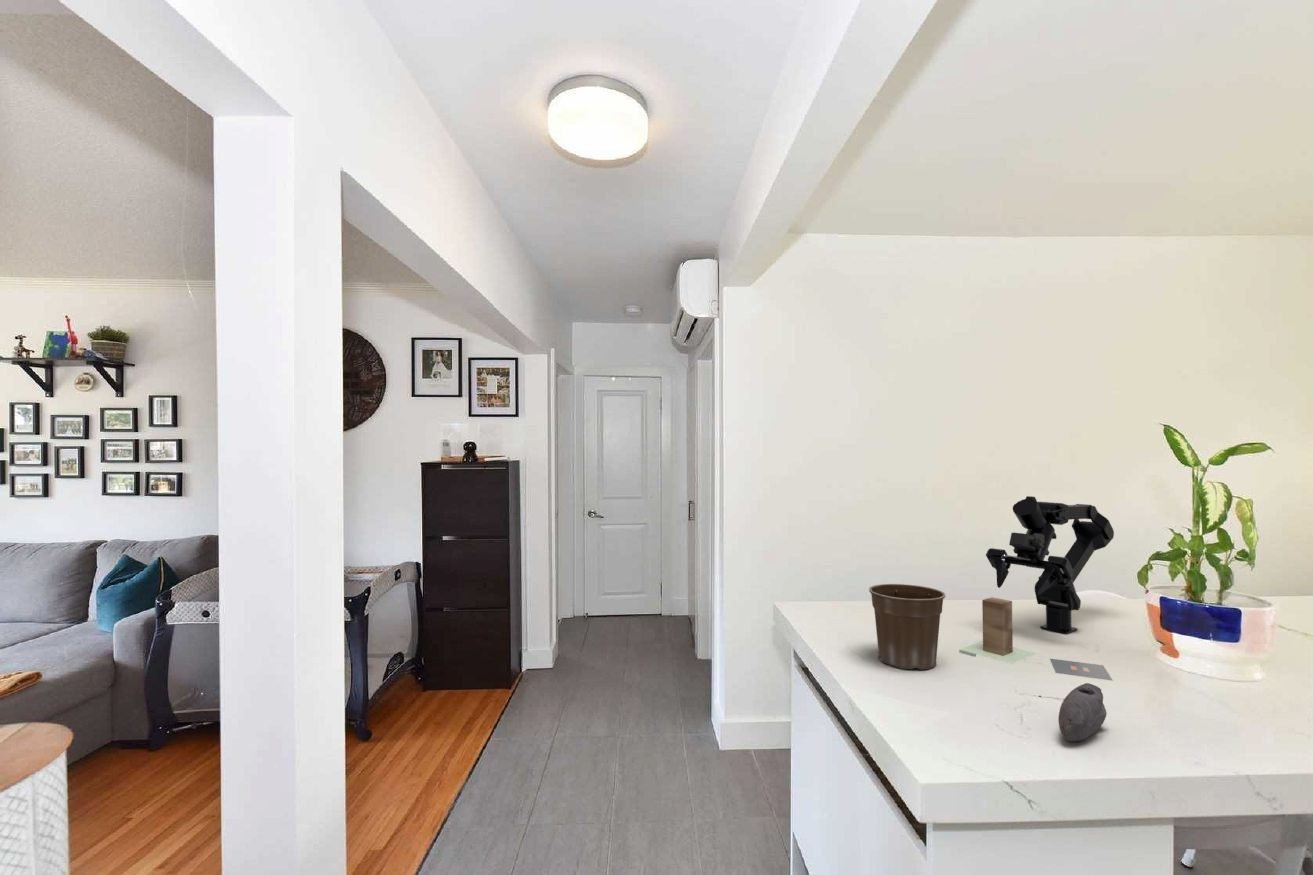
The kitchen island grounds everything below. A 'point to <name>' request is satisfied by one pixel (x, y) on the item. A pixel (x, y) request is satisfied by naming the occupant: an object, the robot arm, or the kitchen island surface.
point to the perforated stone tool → (1082, 712)
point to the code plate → (1080, 669)
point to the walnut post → (997, 626)
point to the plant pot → (907, 624)
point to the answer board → (1009, 658)
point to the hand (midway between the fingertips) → (1017, 590)
